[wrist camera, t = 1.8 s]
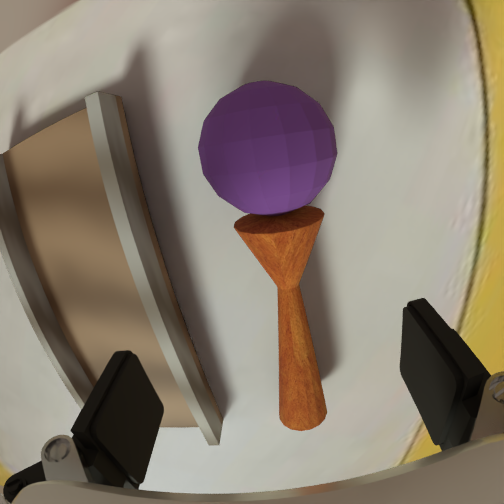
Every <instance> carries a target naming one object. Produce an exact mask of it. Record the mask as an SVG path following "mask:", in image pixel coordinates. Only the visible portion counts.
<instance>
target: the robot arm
mask: <svg viewBox="0 0 504 504" xmlns="http://www.w3.org/2000/svg"><path fill="white" fill-rule="evenodd" d="M400 372H401V375H402V378H403V380H404V382H405V384H406V386H407V388H408V390H409V392H410V394H411V396H412V398H413V400H414V402H415V404H416V406H417V408H418V410H419V413H420V415H421V417H422V419H423V421H424V423H425V425H426V428H427V430H428V432H429V434H430V437H431V439H432V441H433V443H434V444H435V445H440V448H441V450H442V452H439V453H436V454H434V455H431V456H428V457H425V458H422V459H419V460H416V461H413V462H410V463H407V464H404V465H400V466H397V467H393V468H390V469H386V470H383V471H379V472H376V473H372V474H368V475H364V476H360V477H355V478H351V479H346V480H342V481H337V482H332V483H326V484H320V485H314V486H308V487H301V488H294V489H286V490H277V491H266V492H253V493H232V494H190V493H170V492H157V491H146V490H138V488H139V485H140V484H141V483H143V481H144V479H145V475H146V472H147V468H148V465H149V461H150V458H151V454H152V451H153V447H154V444H155V441H156V437H157V434H158V431H159V427H160V424H161V421H162V417H163V414H164V406H163V403H162V402H161V400H160V398H159V396H158V394H157V393H156V391H155V389H154V387H153V385H152V383H151V382H150V380H149V378H148V376H147V374H146V372H145V370H144V368H143V366H142V364H141V362H140V360H139V358H138V356H137V355H136V354H133V353H132V352H131V351H130V350H125V351H116V352H114V354H113V355H112V357H111V359H110V360H109V362H108V364H107V365H106V367H105V369H104V371H103V372H102V374H101V376H100V378H99V379H98V381H97V383H96V385H95V386H94V388H93V390H92V392H91V394H90V395H89V397H88V399H87V401H86V403H85V404H84V406H83V408H82V410H81V412H80V414H79V415H78V417H77V419H76V421H75V423H74V425H73V427H72V429H71V430H70V431H71V432H72V433H73V434H74V435H73V437H72V438H71V437H69V436H67V435H58V436H55V437H53V438H51V439H49V440H48V441H47V442H46V443H45V445H44V446H43V448H42V451H41V459H42V461H40V462H38V463H36V464H34V465H32V466H30V467H28V468H26V469H24V470H22V471H20V472H18V473H16V474H14V475H12V476H11V477H10V478H9V479H8V480H7V481H6V483H5V485H4V489H3V493H4V495H2V494H1V493H0V504H504V372H498V373H495V374H494V375H492V376H491V375H490V374H489V372H488V371H487V370H486V368H485V367H484V366H483V364H482V363H481V362H480V361H479V359H478V358H477V357H476V355H475V354H474V353H473V352H472V350H471V349H470V348H469V347H468V345H467V344H466V343H465V342H464V341H463V339H462V338H461V337H460V336H459V334H458V333H457V332H456V331H455V330H454V329H451V328H450V327H449V326H448V325H447V323H446V322H445V321H444V320H443V319H442V318H441V316H440V315H439V314H438V313H437V312H436V311H435V309H434V308H433V307H432V306H431V305H430V304H429V302H428V301H427V300H426V299H425V298H421V299H417V300H413V301H410V302H408V304H407V307H404V308H403V323H402V343H401V357H400Z"/></svg>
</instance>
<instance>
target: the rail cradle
mask: <svg viewBox="0 0 504 504" xmlns="http://www.w3.org/2000/svg"><path fill="white" fill-rule="evenodd" d="M85 102H86V107H87V108H85V109H83V110H81V111H79V112H76V113H74V114H72V115H70V116H68V117H66V118H64V119H62V120H60V121H58V122H56V123H55V124H53V125H51V126H49V127H47V128H45V129H43V130H42V131H40V132H38V133H36V134H34V135H33V136H31V137H29V138H27V139H26V140H24V141H22V142H21V143H19V144H17V145H16V146H14V147H12V148H11V149H9V150H8V151H6V152H5V153H3V154H0V251H1V254H2V257H3V259H4V262H5V265H6V268H7V270H8V273H9V275H10V278H11V280H12V283H13V285H14V288H15V290H16V293H17V295H18V297H19V299H20V302H21V304H22V306H23V308H24V311H25V313H26V315H27V317H28V319H29V321H30V323H31V325H32V327H33V329H34V331H35V333H36V335H37V337H38V339H39V341H40V343H41V345H42V346H43V348H44V350H45V352H46V354H47V356H48V357H49V359H50V361H51V363H52V364H53V366H54V368H55V369H56V371H57V373H58V374H59V376H60V378H61V379H62V381H63V383H64V384H65V386H66V387H67V389H68V390H69V392H70V393H71V395H72V396H73V398H74V399H75V401H76V402H77V404H78V405H79V407H80V408H81V410H82V408H83V406H84V404H85V403H86V401H87V399H88V397H89V395H90V394H91V392H92V390H93V388H94V386H95V385H96V383H97V381H98V379H99V378H100V376H101V374H102V372H103V371H104V369H105V367H106V365H107V364H108V362H109V360H110V359H111V357H112V355H113V354H114V352H116V351H125V350H130V351H131V352H132V353H133V354H136V355H137V356H138V358H139V360H140V362H141V364H142V366H143V368H144V370H145V372H146V374H147V376H148V378H149V380H150V382H151V383H152V385H153V387H154V389H155V391H156V393H157V394H158V396H159V398H160V400H161V402H162V403H163V406H164V414H163V417H162V421H161V424H160V427H199V428H200V430H201V432H202V433H203V435H204V437H205V439H206V441H207V443H208V444H209V445H219V443H220V437H221V431H222V424H223V418H222V416H221V414H220V411H219V409H218V406H217V404H216V401H215V399H214V396H213V394H212V391H211V389H210V387H209V384H208V382H207V379H206V377H205V374H204V372H203V369H202V367H201V364H200V362H199V359H198V357H197V354H196V352H195V349H194V346H193V344H192V341H191V339H190V336H189V333H188V330H187V328H186V325H185V322H184V320H183V317H182V314H181V311H180V308H179V305H178V303H177V300H176V297H175V294H174V291H173V288H172V285H171V282H170V279H169V276H168V273H167V270H166V267H165V264H164V261H163V257H162V254H161V251H160V248H159V245H158V241H157V238H156V235H155V231H154V228H153V225H152V221H151V218H150V214H149V211H148V207H147V203H146V200H145V196H144V192H143V189H142V185H141V181H140V177H139V173H138V169H137V165H136V161H135V157H134V153H133V149H132V145H131V140H130V136H129V131H128V127H127V122H126V118H125V113H124V108H123V103H122V98H121V97H120V96H116V95H112V94H107V93H103V92H98V91H97V92H95V93H93V94H91V95H89V96H87V97H85Z"/></svg>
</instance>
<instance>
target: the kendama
mask: <svg viewBox="0 0 504 504" xmlns="http://www.w3.org/2000/svg"><path fill="white" fill-rule="evenodd" d="M198 150H199V155H200V160H201V165H202V170H203V174H204V176H205V177H206V179H207V180H208V182H209V183H210V185H211V186H212V188H213V189H214V190H215V192H216V193H217V195H218V196H219V197H221V198H222V199H224V200H225V201H227V202H228V203H230V204H232V205H233V206H235V207H236V208H238V209H239V210H241V211H243V212H245V213H250V214H248V215H246V216H243V217H241V218H240V219H239V220H237V221H236V222H235V224H234V228H235V230H236V231H237V232H238V234H239V235H240V237H241V238H242V239H243V241H244V242H245V243H246V245H247V246H248V247H249V249H250V250H251V251H252V253H253V254H254V256H255V257H256V258H257V260H258V261H259V262H260V264H261V265H262V266H263V268H264V269H265V270H266V272H267V273H268V274H269V276H270V277H271V279H272V280H273V281H274V283H275V284H276V285H277V287H278V331H279V415H280V420H281V422H282V423H283V425H285V426H286V427H288V428H290V429H292V430H298V431H303V430H310V429H312V428H314V427H316V426H318V425H320V424H321V423H322V421H323V420H324V419H325V417H326V414H327V409H326V404H325V399H324V394H323V389H322V384H321V380H320V375H319V370H318V366H317V361H316V356H315V352H314V347H313V343H312V338H311V334H310V329H309V325H308V321H307V316H306V312H305V308H304V303H303V299H302V295H301V291H300V287H299V282H300V279H301V277H302V274H303V272H304V269H305V266H306V264H307V261H308V258H309V256H310V253H311V250H312V247H313V245H314V242H315V239H316V236H317V234H318V231H319V228H320V225H321V223H322V220H323V217H324V212H323V211H322V210H321V209H319V208H316V207H312V206H305V205H307V204H309V203H311V201H312V200H313V199H314V198H315V197H316V195H317V194H318V193H319V192H320V191H321V189H322V188H323V187H324V186H325V184H326V183H327V182H328V181H329V180H330V177H331V174H332V170H333V167H334V163H335V160H336V156H337V148H336V140H335V133H334V127H333V125H332V123H331V122H330V120H329V118H328V117H327V115H326V113H325V112H324V110H323V108H322V107H321V105H320V104H319V103H318V102H317V101H315V100H314V99H313V98H311V97H310V96H308V95H307V94H306V93H304V92H303V91H301V90H300V89H299V88H297V87H294V86H290V85H285V84H281V83H276V82H271V81H257V82H252V83H248V84H245V85H243V86H241V87H239V88H238V89H236V90H234V91H232V92H231V93H229V94H227V95H226V96H224V97H222V98H221V99H220V100H219V101H218V102H217V104H216V105H215V106H214V108H213V109H212V110H211V112H210V113H209V114H208V116H207V117H206V119H205V120H204V123H203V127H202V132H201V136H200V141H199V145H198Z"/></svg>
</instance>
